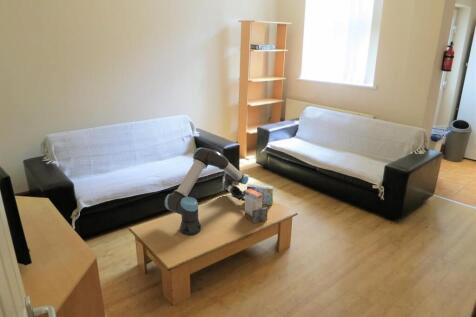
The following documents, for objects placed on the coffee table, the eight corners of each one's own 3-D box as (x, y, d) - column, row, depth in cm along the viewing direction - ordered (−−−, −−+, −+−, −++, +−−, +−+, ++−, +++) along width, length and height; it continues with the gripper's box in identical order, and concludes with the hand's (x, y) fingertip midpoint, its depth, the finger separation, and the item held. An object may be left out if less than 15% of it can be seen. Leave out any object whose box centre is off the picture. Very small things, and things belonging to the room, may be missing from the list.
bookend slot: (253, 223, 256) (253, 211, 252) (244, 216, 266) (244, 204, 263) (267, 219, 261) (267, 207, 258) (258, 212, 272) (258, 201, 268)
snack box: (273, 202, 288) (273, 186, 283) (271, 205, 283) (272, 189, 277) (248, 199, 293) (248, 183, 288) (246, 202, 288) (246, 186, 283)
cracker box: (262, 219, 262) (263, 194, 255) (256, 221, 258) (256, 196, 251) (250, 212, 272) (250, 188, 265) (244, 214, 269) (244, 190, 262)
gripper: (240, 192, 295) (255, 204, 276) (227, 195, 289) (240, 207, 270) (241, 184, 293) (255, 195, 273) (227, 187, 287) (240, 198, 267)
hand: (248, 201), depth 272 cm, fingers closed
